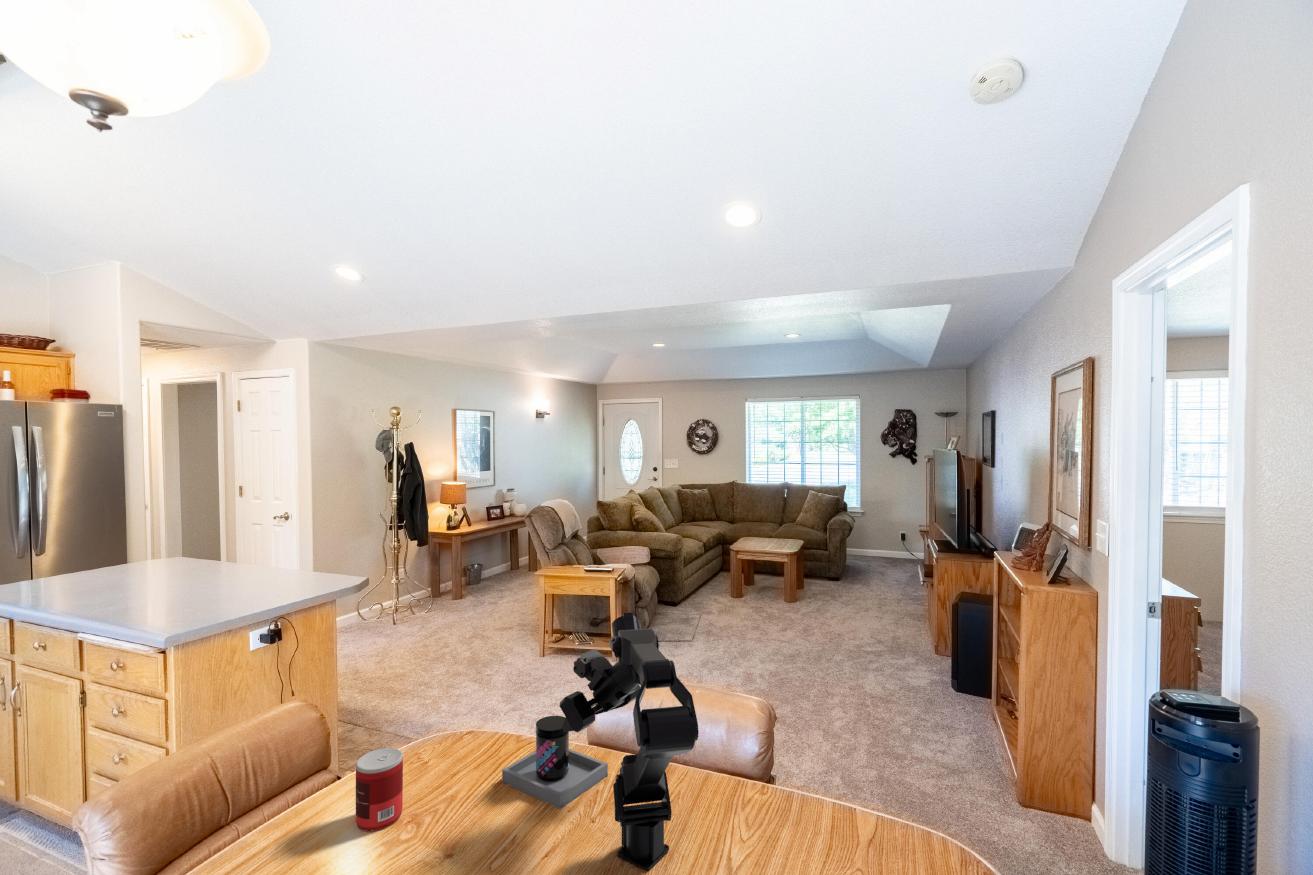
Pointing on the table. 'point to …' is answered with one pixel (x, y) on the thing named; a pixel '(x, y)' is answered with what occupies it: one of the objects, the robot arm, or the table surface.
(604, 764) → the tray
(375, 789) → the canned food
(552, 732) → the supplement container
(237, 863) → the table surface
